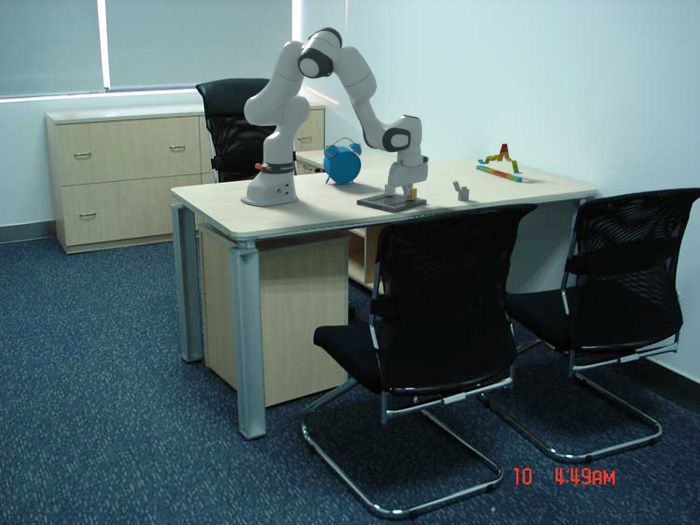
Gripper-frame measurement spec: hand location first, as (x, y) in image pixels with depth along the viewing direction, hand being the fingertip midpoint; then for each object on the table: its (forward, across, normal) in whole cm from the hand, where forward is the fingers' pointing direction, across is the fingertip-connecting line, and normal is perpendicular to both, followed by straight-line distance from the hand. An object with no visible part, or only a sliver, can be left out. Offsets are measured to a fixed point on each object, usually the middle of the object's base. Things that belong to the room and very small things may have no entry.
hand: (407, 195), depth 284 cm
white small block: (+2, +3, +10) cm, 11 cm away
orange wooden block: (+2, +3, 0) cm, 3 cm away
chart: (+3, +75, +5) cm, 75 cm away
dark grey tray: (+4, -2, +5) cm, 7 cm away
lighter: (+4, +22, -10) cm, 24 cm away
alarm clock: (+4, +10, +42) cm, 43 cm away
